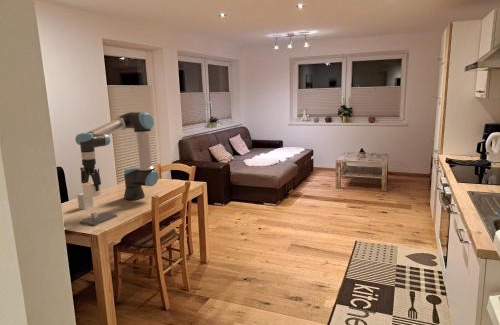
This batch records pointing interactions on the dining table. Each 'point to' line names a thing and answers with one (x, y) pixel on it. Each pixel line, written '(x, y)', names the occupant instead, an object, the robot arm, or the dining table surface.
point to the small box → (84, 201)
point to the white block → (89, 189)
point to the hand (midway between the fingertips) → (92, 195)
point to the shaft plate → (102, 219)
